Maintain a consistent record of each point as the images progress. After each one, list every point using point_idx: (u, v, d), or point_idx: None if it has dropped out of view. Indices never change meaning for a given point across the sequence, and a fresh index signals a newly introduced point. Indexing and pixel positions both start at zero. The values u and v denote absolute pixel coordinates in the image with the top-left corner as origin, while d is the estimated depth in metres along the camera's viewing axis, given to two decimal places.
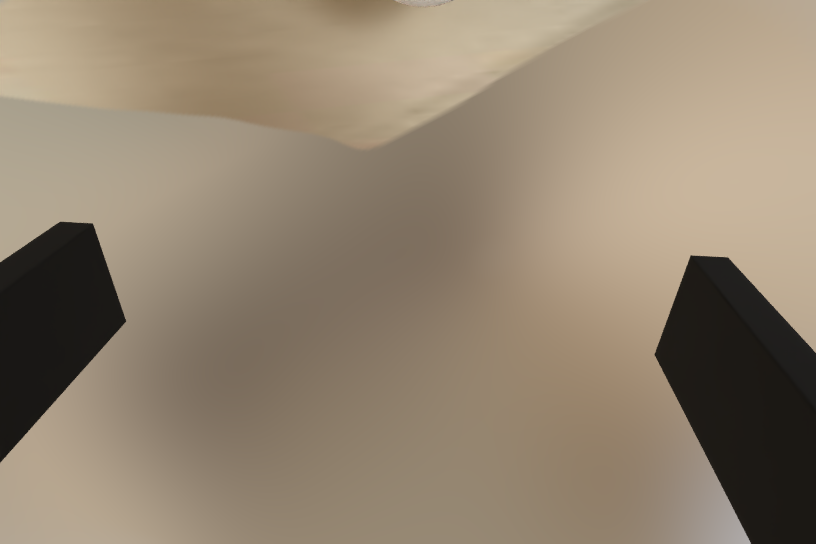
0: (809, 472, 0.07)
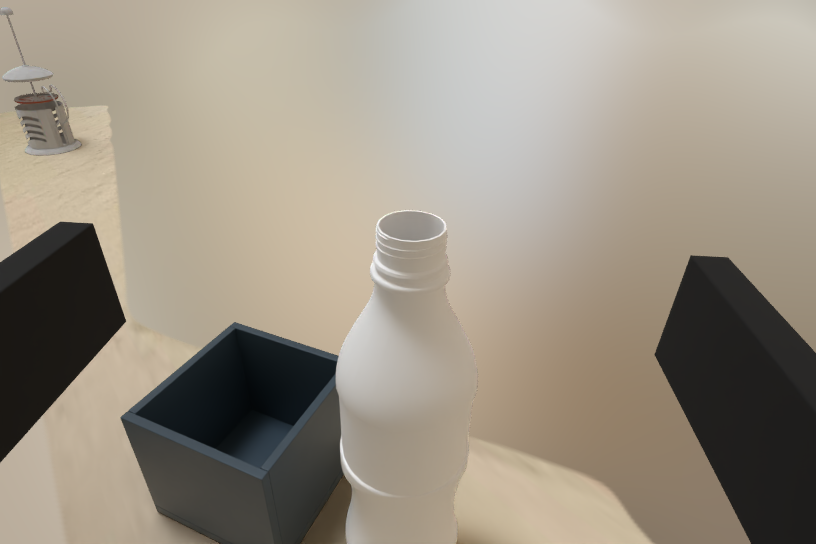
0: (809, 472, 0.07)
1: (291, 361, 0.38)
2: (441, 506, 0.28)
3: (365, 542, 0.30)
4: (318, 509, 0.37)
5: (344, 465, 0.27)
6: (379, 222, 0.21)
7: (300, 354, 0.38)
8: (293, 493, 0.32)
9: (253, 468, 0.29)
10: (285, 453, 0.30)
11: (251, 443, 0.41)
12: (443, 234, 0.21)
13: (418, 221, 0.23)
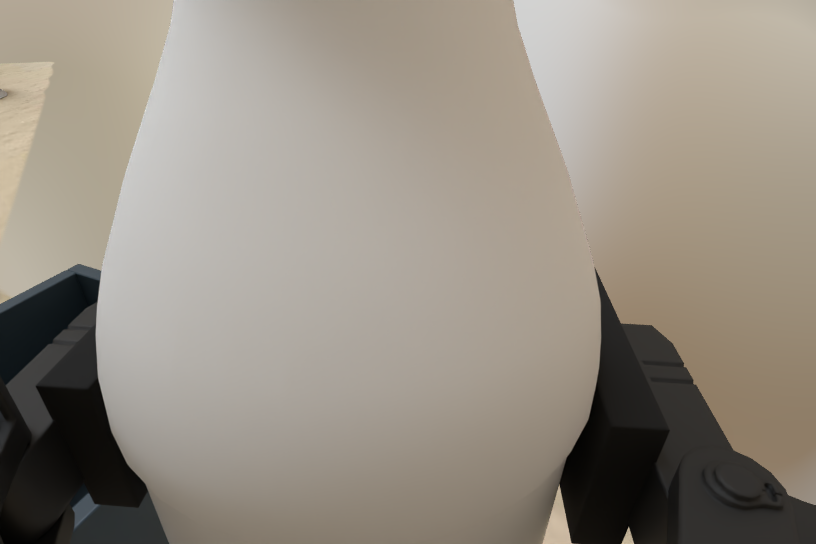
0: None
1: None
2: None
3: None
4: None
5: None
6: None
7: None
8: None
9: None
10: (78, 535, 0.12)
11: None
12: None
13: None
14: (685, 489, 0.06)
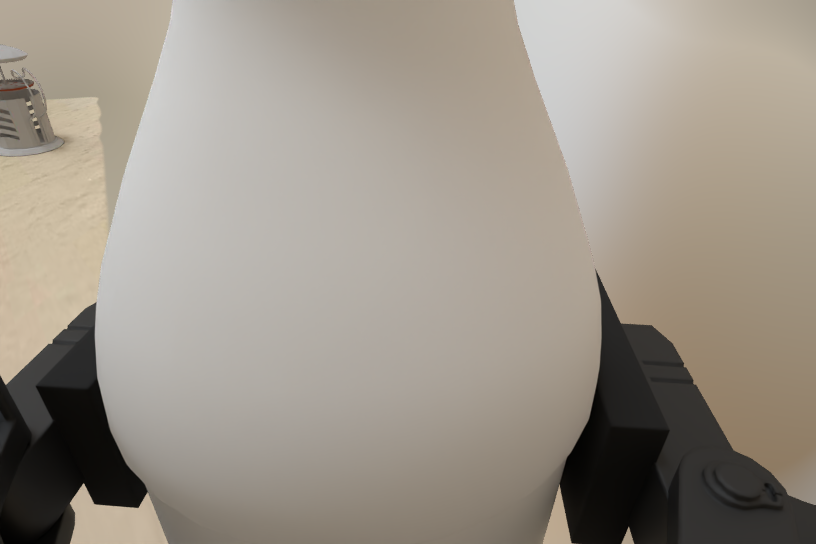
0: None
1: None
2: None
3: None
4: None
5: None
6: None
7: None
8: None
9: None
10: None
11: None
12: None
13: None
14: (685, 489, 0.06)
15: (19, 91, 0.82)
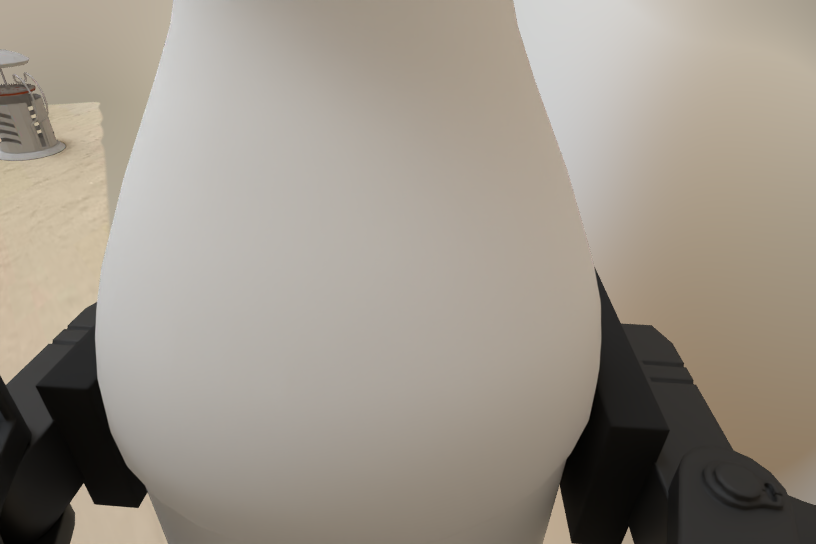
0: None
1: None
2: None
3: None
4: None
5: None
6: None
7: None
8: None
9: None
10: None
11: None
12: None
13: None
14: (685, 489, 0.06)
15: (21, 96, 0.82)
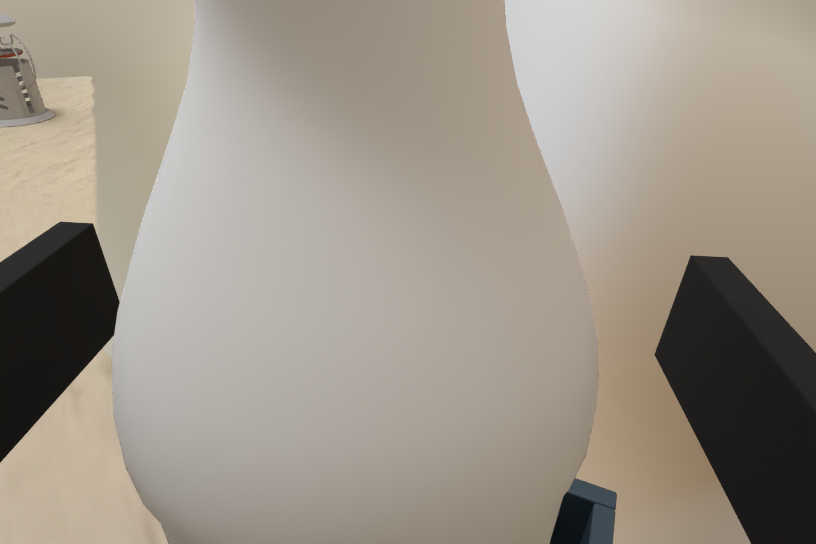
0: (809, 471, 0.07)
1: None
2: None
3: None
4: None
5: None
6: None
7: None
8: None
9: None
10: None
11: None
12: None
13: None
14: None
15: (8, 61, 0.79)
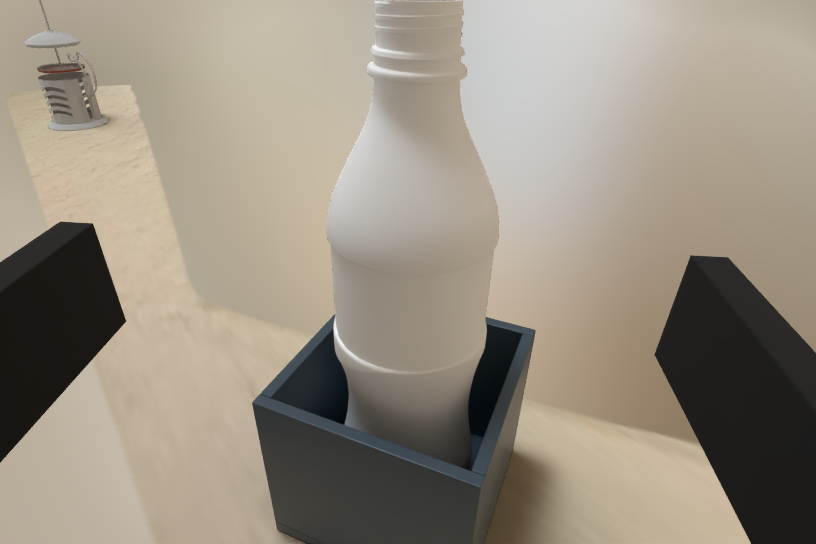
0: (809, 472, 0.07)
1: None
2: (454, 396, 0.23)
3: None
4: None
5: (338, 344, 0.23)
6: None
7: None
8: (486, 505, 0.24)
9: (462, 472, 0.20)
10: (495, 449, 0.21)
11: None
12: (459, 3, 0.16)
13: None
14: None
15: (70, 74, 0.93)
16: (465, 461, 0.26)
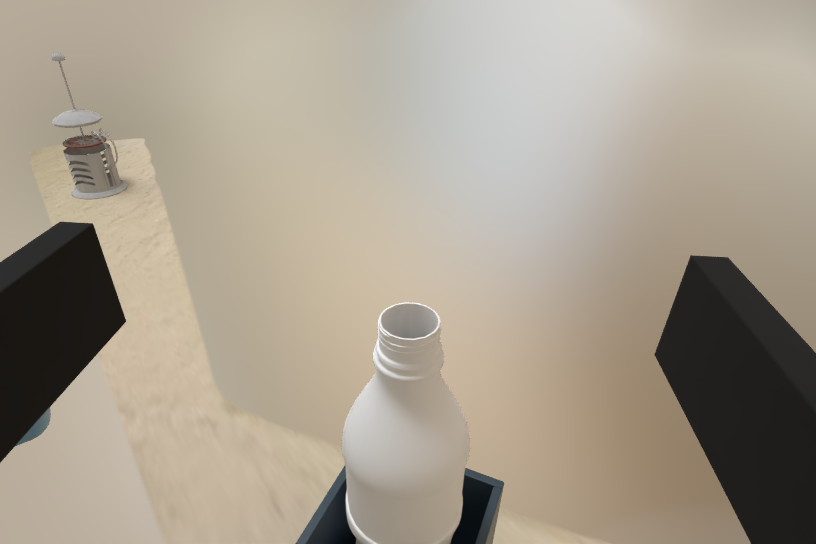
0: (809, 472, 0.07)
1: None
2: None
3: None
4: None
5: (350, 520, 0.30)
6: (381, 317, 0.24)
7: None
8: None
9: None
10: None
11: None
12: (437, 330, 0.24)
13: (415, 311, 0.26)
14: None
15: None
16: None
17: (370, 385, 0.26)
